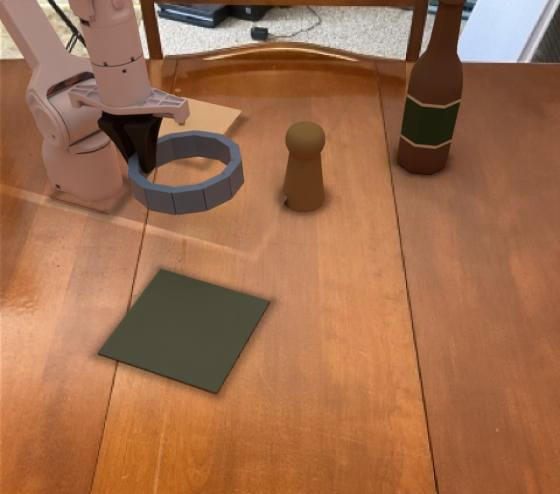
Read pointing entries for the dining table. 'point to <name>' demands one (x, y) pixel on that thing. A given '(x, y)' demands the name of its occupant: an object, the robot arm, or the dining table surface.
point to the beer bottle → (433, 95)
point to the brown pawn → (304, 167)
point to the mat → (186, 330)
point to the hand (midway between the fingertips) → (143, 168)
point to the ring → (194, 194)
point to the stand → (201, 118)
